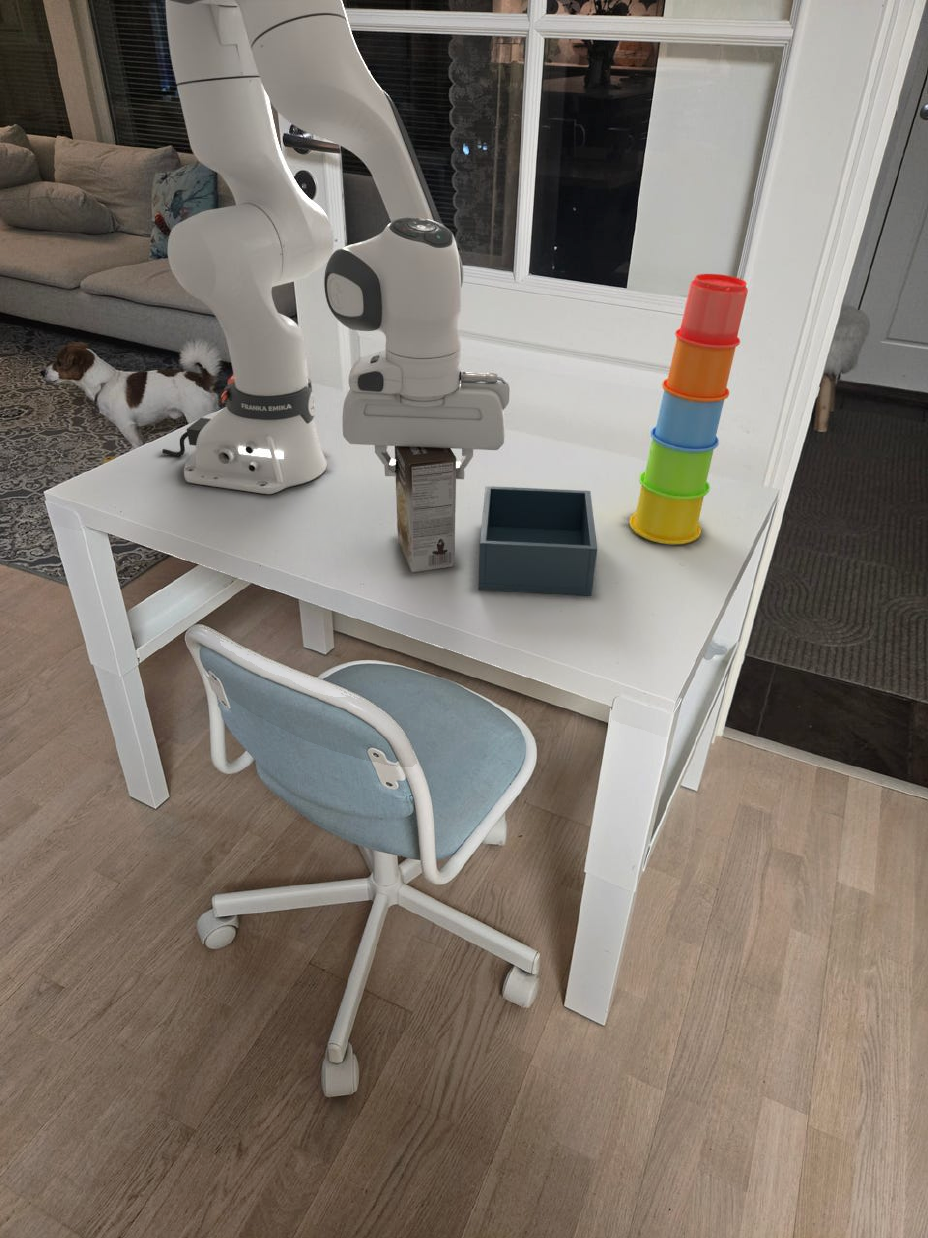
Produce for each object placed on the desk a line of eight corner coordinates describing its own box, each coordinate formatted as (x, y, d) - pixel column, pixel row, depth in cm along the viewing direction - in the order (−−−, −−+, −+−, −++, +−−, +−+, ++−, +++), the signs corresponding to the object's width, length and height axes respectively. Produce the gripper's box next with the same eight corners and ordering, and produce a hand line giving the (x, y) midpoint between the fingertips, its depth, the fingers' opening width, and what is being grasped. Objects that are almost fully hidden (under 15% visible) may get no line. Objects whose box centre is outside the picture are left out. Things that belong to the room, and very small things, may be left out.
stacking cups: (628, 508, 124) (666, 266, 104) (697, 515, 123) (749, 271, 102) (629, 543, 116) (670, 288, 95) (703, 550, 115) (760, 293, 94)
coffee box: (396, 539, 116) (392, 432, 106) (439, 533, 117) (439, 428, 108) (410, 573, 109) (408, 462, 99) (457, 567, 110) (458, 457, 101)
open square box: (478, 589, 106) (479, 543, 102) (484, 529, 118) (485, 485, 114) (591, 595, 105) (597, 549, 101) (585, 534, 118) (590, 490, 114)
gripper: (510, 364, 100) (505, 468, 108) (345, 358, 101) (352, 462, 109) (509, 383, 95) (504, 490, 103) (335, 376, 96) (343, 483, 104)
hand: (425, 475), depth 106 cm, fingers open, 7 cm apart
